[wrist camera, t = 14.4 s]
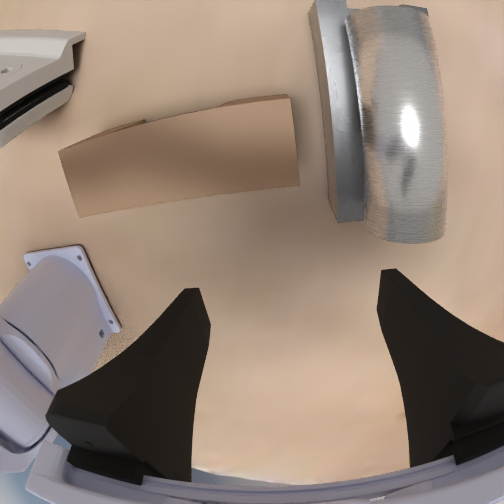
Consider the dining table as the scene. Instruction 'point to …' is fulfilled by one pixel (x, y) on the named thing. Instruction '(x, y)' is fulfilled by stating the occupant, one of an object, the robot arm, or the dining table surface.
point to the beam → (185, 157)
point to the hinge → (33, 76)
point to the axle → (400, 123)
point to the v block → (340, 108)
